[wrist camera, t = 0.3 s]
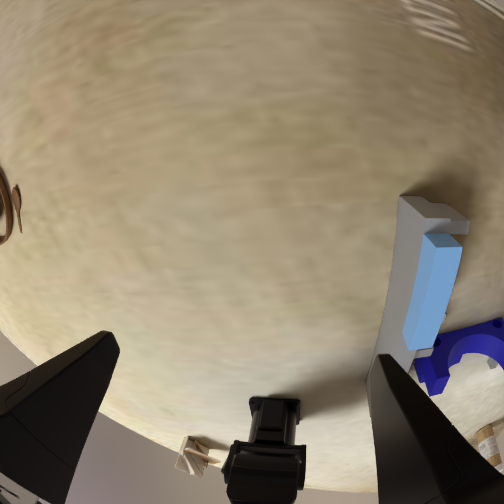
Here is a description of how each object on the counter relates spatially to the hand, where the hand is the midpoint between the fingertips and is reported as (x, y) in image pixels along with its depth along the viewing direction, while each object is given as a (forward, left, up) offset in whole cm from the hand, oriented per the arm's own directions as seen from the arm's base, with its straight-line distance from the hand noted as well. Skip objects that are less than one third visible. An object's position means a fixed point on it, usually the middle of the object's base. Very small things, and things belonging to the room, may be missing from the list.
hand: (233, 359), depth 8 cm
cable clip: (-16, -21, -15) cm, 30 cm away
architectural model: (-43, +16, -15) cm, 48 cm away
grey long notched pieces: (-10, -20, -14) cm, 26 cm away
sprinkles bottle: (-49, -46, -15) cm, 69 cm away
